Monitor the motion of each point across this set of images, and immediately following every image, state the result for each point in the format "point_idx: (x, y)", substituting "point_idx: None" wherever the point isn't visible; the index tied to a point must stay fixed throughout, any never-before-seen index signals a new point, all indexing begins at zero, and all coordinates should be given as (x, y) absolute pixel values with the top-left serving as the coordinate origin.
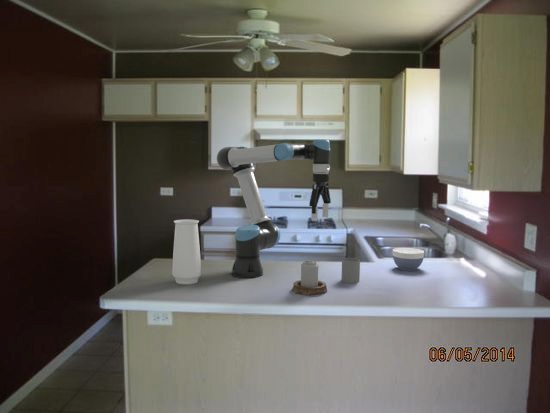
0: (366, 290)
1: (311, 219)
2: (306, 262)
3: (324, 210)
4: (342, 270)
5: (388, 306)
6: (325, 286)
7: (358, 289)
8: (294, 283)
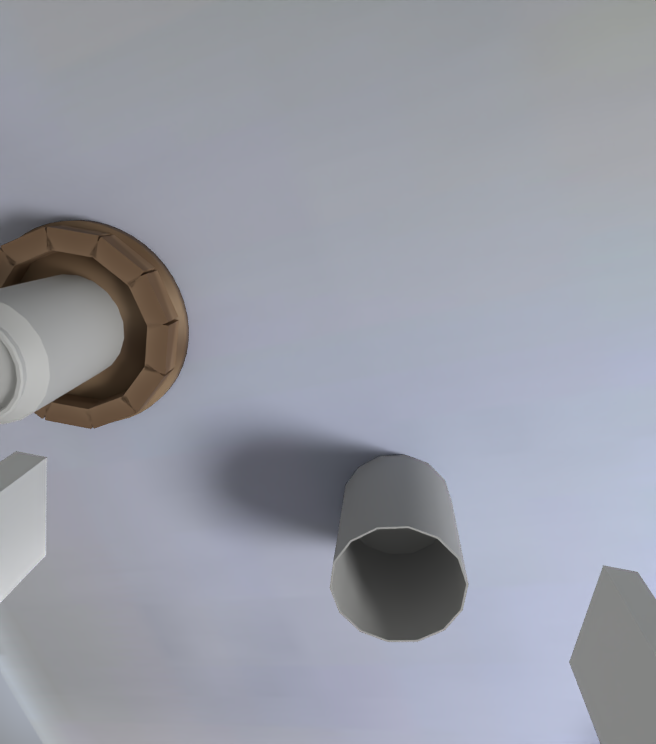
0: (225, 594)
1: (3, 463)
2: (16, 328)
3: (649, 725)
4: (366, 494)
5: (22, 683)
6: (78, 423)
7: (227, 558)
8: (32, 238)
